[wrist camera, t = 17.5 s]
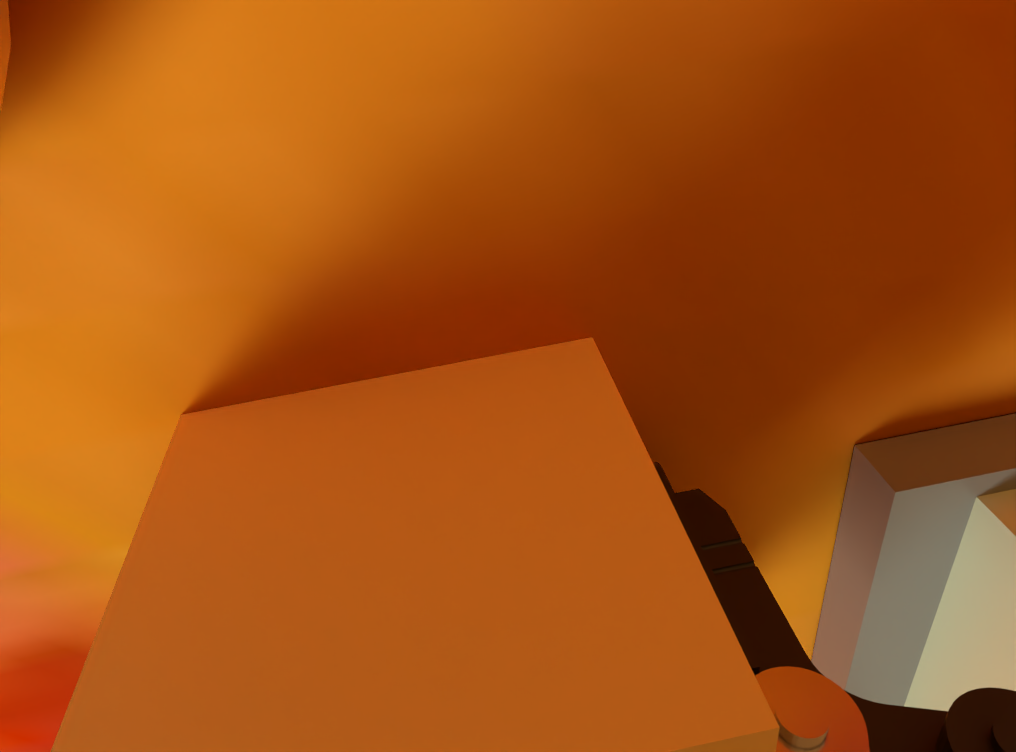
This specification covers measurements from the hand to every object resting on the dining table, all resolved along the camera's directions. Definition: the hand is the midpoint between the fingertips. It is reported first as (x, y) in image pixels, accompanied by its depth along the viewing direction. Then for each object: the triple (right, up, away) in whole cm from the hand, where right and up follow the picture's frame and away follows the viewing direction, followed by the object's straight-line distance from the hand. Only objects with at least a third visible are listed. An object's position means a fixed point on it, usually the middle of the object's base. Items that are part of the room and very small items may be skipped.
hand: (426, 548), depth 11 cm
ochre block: (0, -1, +2) cm, 2 cm away
